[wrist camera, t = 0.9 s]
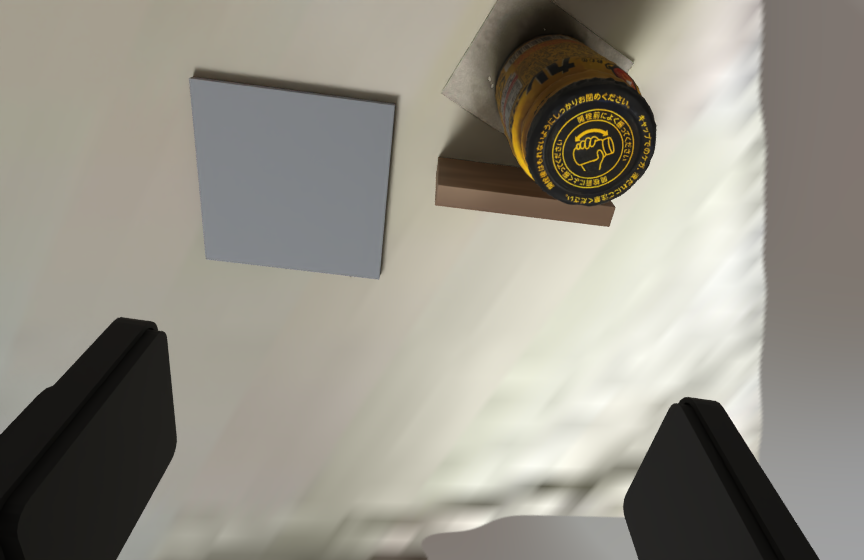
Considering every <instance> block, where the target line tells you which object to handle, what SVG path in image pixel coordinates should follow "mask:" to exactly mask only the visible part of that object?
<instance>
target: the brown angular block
mask: <svg viewBox="0 0 864 560" xmlns="http://www.w3.org/2000/svg"><path fill="white" fill-rule="evenodd" d="M435 205H437V206H445V207H454V208H462V209H470V210H478V211H486V212H494V213H502V214H510V215H518V216H526V217H534V218H542V219H550V220H558V221H566V222H574V223H582V224H590V225H598V226H607V227H609V226H610V223H611V220H612V217H613V214H614V211H615V206H614V205H613V203H612V202H611V200H610V201H608V202H606V203H603V204H600V205H596V206H590V207H588V206H584V205H568V204H566V203H563V202H561V201H558V200H557V199H554V198H553V197H552V196H551V195H548V194H547V193H546V192H543V191H542V189H541V188H540V186H538V184H535V181H534V180H533V179H532V178H530V177H529V176H528V175H527V174H526V173H525V171H524V170H523V169H522V168H521V167H513V166H505V165H497V164H490V163H482V162H474V161H466V160H458V159H451V158H443V157H439V158H438V165H437V172H436V195H435Z"/></svg>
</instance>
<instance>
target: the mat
mask: <svg viewBox="0 0 864 560" xmlns="http://www.w3.org/2000/svg"><path fill="white" fill-rule="evenodd" d="M189 83H190V93H191V104H192V115H193V126H194V136H195V147H196V158H197V168H198V179H199V190H200V201H201V211H202V222H203V233H204V244H205V254H206V259H209V260H217V261H226V262H234V263H243V264H251V265H260V266H268V267H277V268H285V269H294V270H303V271H311V272H320V273H328V274H337V275H345V276H354V277H362V278H371V279H379V278H380V268H381V257H382V246H383V235H384V224H385V213H386V202H387V191H388V179H389V168H390V157H391V146H392V135H393V124H394V113H395V104H394V103H386V102H379V101H371V100H364V99H356V98H349V97H341V96H334V95H326V94H318V93H311V92H303V91H296V90H288V89H281V88H273V87H266V86H258V85H251V84H243V83H236V82H228V81H220V80H213V79H205V78H198V77H191V78H189Z"/></svg>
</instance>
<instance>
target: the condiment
mask: <svg viewBox="0 0 864 560" xmlns="http://www.w3.org/2000/svg"><path fill="white" fill-rule="evenodd" d="M544 29H545V31H544ZM633 64H634V63H633V62H632V61H630V60H629V59H628V58H626V57H625V56H624V55H622V54H621V53H620V52H618V51H617V50H616V49H614V48H613V47H612V46H610V45H609V44H608V43H606V42H605V41H603V40H602V39H601V38H599V37H598V36H597V35H595V34H594V33H593V32H592V31H590V30H589V29H587V28H586V27H585V26H583V25H582V24H581V23H579V22H578V21H577V20H576V19H574V18H573V17H571V16H570V15H569V14H568V13H566V12H565V11H563V10H562V9H561V8H559V7H558V6H557V5H555V4H554V3H553V2H552V1H550V0H498V1H497V2H496V4H495V6H494V7H493V9H492V11H491V12H490V14H489V16H488V17H487V18H486V20H485V22H484V24H483V25H482V27H481V28H480V30H479V32H478V33H477V35H476V37H475V38H474V40H473V42H472V43H471V45H470V47H469V48H468V50H467V51H466V53H465V55H464V56H463V58H462V60H461V61H460V63H459V65H458V66H457V68H456V69H455V71H454V73H453V74H452V76H451V78H450V79H449V81H448V83H447V84H446V86H445V88H444V89H443V91H442V93H441V94H443V95H444V96H446V97H447V98H449V99H450V100H452V101H453V102H455V103H456V104H458V105H460V106H461V107H463V108H464V109H465V110H467V111H468V112H470V113H472V114H473V115H475V116H477V117H478V118H479V119H481V120H482V121H484V122H485V123H487V124H489V125H490V126H492V127H493V128H495V129H497V130H498V131H500V132H501V133H503V134H504V135H506V137H507V139H508V141H509V145H510V148H511V150H512V153H513V155H514V156H515V158H516V159H517V161H518V163H519V165H520V166H521V167H522V169H523V170H524V171H525V173H526V174H527V175H528V176H529V177H530V178H532V179H533V180H534V181H535V184H538V186H540V188H541V189H542V191H543V192H546V193H547V194H548V195H551V196H552V197H553V198H554V199H557V200H558V201H561V202H563V203H566V204H568V205H584V206H588V207H590V206H596V205H600V204H603V203H606V202H608V201H610V200H612V199H615V198H617V197H619V196H621V195H622V194H624V193H625V192H626V191H627V190H629V189H630V188H631V187H632V186H633V185H634V184H635V183H636V181H637V180H639V179H640V178H641V177H642V175H643V174H644V173H645V171H646V170H647V168H648V166H649V164H650V160H651V158H652V156H653V154H654V150H655V144H656V123H655V121H654V115H653V112H652V110H651V108H650V106H649V105H648V103H647V102H646V100H645V99H644V98H643V97H642V96H641V93H640V91H639V88H638V86H637V85H636V83H635V82H634V80H633V79H632V78H631V77H630V76H629V75H628V73H627V72H628V71H629V69H630V68H631V67H632V65H633ZM489 76H490V77H491V81H489V80H488V78H489ZM492 84H493V88H491V85H492Z"/></svg>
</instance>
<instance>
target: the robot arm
mask: <svg viewBox="0 0 864 560" xmlns="http://www.w3.org/2000/svg"><path fill="white" fill-rule="evenodd" d="M176 443H177V436H176V425H175V415H174V405H173V394H172V384H171V374H170V363H169V353H168V343H167V336H166V334H165V332H163V331H158V328H157V325H156V324H155V323H154V322H151V321H144V320H137V319H130V318H123V317H120V318H117V319H116V320H115V321H113V322H112V323H111V324H110V326H109V327H108V328H107V329H106V330H105V331H104V332H103V333H102V334H101V335H100V336H99V337H98V338H97V339H96V341H95V342H94V343H93V344H92V345H91V346H90V347H89V348H88V349H87V350H86V351H85V352H84V353H83V354H82V355H81V357H80V358H79V359H78V360H77V361H76V362H75V363H74V364H73V365H72V366H71V367H70V368H69V369H68V370H67V372H66V373H65V374H64V375H63V376H62V377H61V378H60V379H59V380H58V381H57V382H56V383H55V384H54V385H53V386H51V387H48V388H46V389H45V390H44V391H42V392H41V393H40V394H39V395H38V396H37V397H36V398H35V399H34V400H33V401H32V402H31V403H30V404H29V405H28V406H27V407H26V408H25V409H24V410H23V411H22V413H21V414H20V415H19V416H18V417H17V418H16V419H15V420H14V421H13V422H12V423H11V424H10V425H9V426H8V427H7V428H6V429H5V430H4V431H3V433H2V434H1V435H0V560H116V559H117V557H118V556H119V554H120V552H121V550H122V548H123V547H124V545H125V543H126V541H127V539H128V537H129V536H130V534H131V532H132V530H133V528H134V527H135V525H136V523H137V521H138V519H139V518H140V516H141V514H142V512H143V510H144V509H145V507H146V505H147V503H148V501H149V500H150V498H151V496H152V494H153V492H154V491H155V489H156V487H157V485H158V483H159V482H160V480H161V478H162V476H163V474H164V473H165V471H166V469H167V467H168V465H169V464H170V462H171V460H172V458H173V455H174V452H175V449H176ZM623 510H624V516H625V519H626V522H627V526H628V529H629V532H630V535H631V537H632V541H633V544H634V547H635V550H636V553H637V556H638V559H639V560H819V558H818V556H817V555H816V553H815V552H814V550H813V548H812V547H811V546H810V544H809V542H808V541H807V539H806V537H805V536H804V534H803V533H802V531H801V530H800V528H799V527H798V525H797V523H796V522H795V520H794V518H793V517H792V515H791V514H790V512H789V511H788V509H787V508H786V506H785V504H784V503H783V501H782V500H781V498H780V496H779V495H778V493H777V492H776V490H775V489H774V487H773V485H772V484H771V482H770V481H769V479H768V478H767V476H766V474H765V473H764V471H763V470H762V468H761V466H760V465H759V463H758V462H757V460H756V459H755V457H754V455H753V454H752V452H751V451H750V449H749V447H748V446H747V444H746V443H745V441H744V440H743V438H742V436H741V435H740V433H739V432H738V430H737V429H736V427H735V425H734V424H733V422H732V421H731V419H730V417H729V416H728V414H727V413H726V411H725V410H724V408H723V407H722V405H721V404H720V403H718V402H716V401H712V400H705V399H698V398H691V397H684V398H683V399H681V400H680V402H679V403H675V404H673V405H671V407H670V408H669V410H668V412H667V414H666V416H665V418H664V420H663V422H662V424H661V426H660V428H659V430H658V432H657V434H656V436H655V438H654V440H653V442H652V444H651V446H650V448H649V450H648V452H647V454H646V456H645V458H644V460H643V462H642V464H641V466H640V468H639V470H638V472H637V474H636V476H635V478H634V480H633V482H632V483H631V485H630V487H629V489H628V491H627V493H626V496H625V498H624V504H623Z"/></svg>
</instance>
